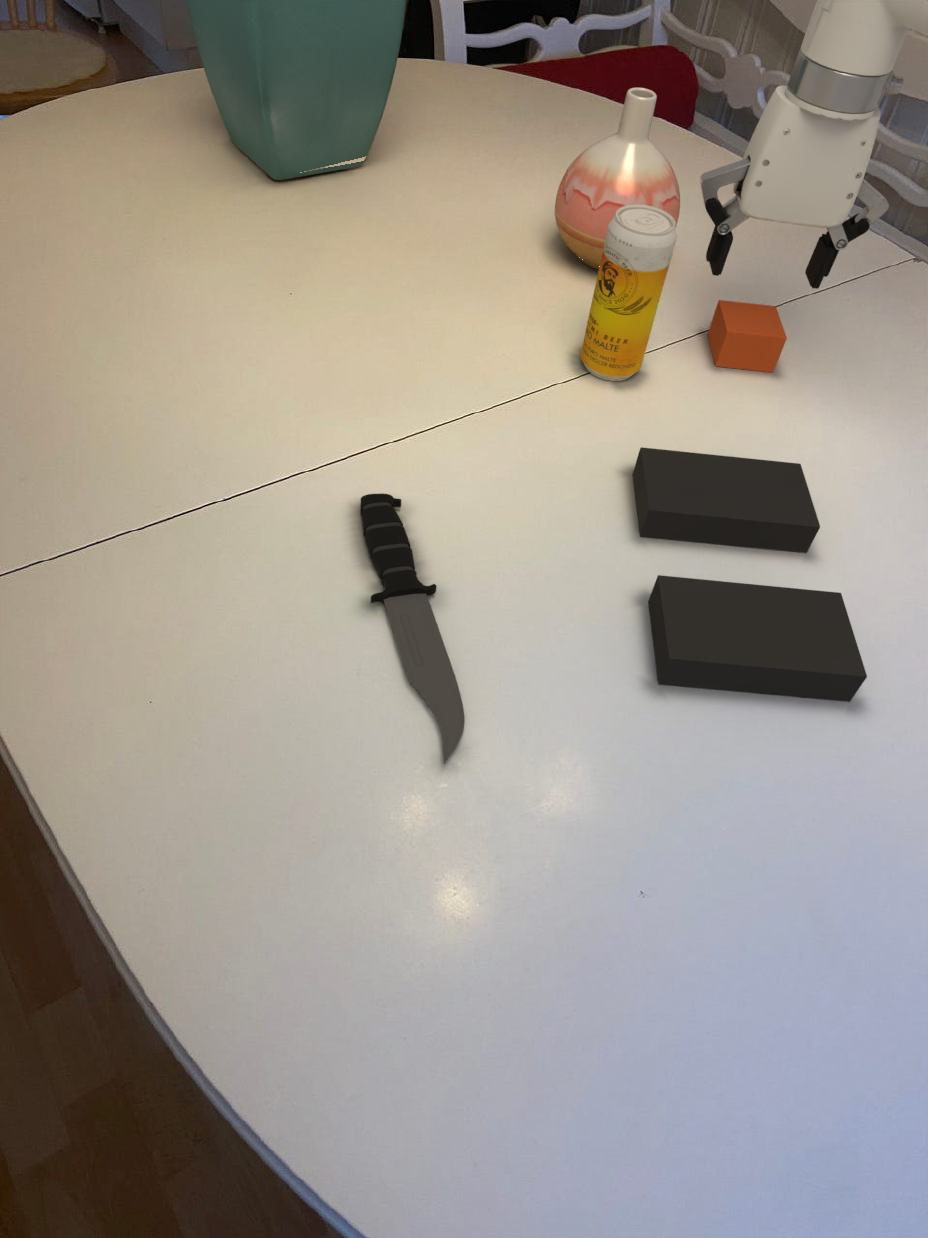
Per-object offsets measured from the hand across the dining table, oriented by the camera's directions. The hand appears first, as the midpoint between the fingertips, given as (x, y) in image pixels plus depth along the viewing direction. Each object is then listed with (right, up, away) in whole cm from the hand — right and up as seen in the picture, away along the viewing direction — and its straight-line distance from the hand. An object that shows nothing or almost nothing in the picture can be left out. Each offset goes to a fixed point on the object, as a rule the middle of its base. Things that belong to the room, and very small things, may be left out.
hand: (762, 274), depth 90 cm
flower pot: (-50, +25, +27) cm, 62 cm away
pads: (-8, -30, -16) cm, 35 cm away
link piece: (0, -6, +6) cm, 9 cm away
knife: (-33, -34, -22) cm, 52 cm away
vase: (-13, +8, +17) cm, 23 cm away
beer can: (-15, -8, +3) cm, 17 cm away
